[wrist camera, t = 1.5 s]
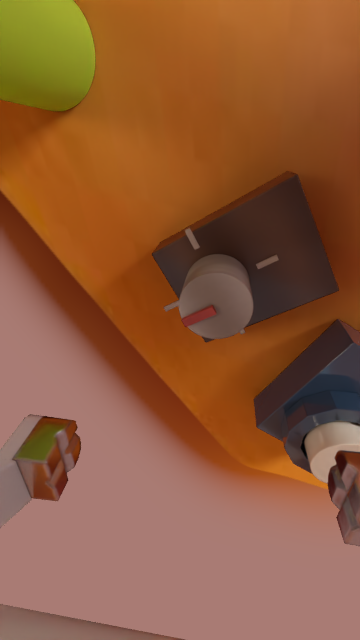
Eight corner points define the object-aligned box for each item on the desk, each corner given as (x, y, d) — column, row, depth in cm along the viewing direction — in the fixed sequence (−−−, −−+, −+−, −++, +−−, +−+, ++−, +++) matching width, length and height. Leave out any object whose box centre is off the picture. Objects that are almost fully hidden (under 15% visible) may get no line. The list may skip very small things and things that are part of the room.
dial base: (286, 165, 19) (296, 168, 17) (328, 277, 22) (342, 295, 20) (143, 246, 23) (132, 259, 21) (196, 332, 26) (192, 353, 24)
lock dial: (232, 242, 19) (233, 261, 16) (260, 298, 21) (265, 325, 17) (174, 271, 21) (164, 294, 17) (203, 321, 22) (199, 351, 19)
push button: (337, 318, 24) (365, 359, 19) (421, 370, 25) (465, 422, 20) (253, 399, 29) (258, 447, 25) (325, 439, 31) (343, 492, 26)
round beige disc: (335, 410, 22) (344, 434, 20) (384, 438, 23) (398, 464, 21) (291, 444, 24) (296, 468, 23) (337, 468, 25) (345, 494, 23)
